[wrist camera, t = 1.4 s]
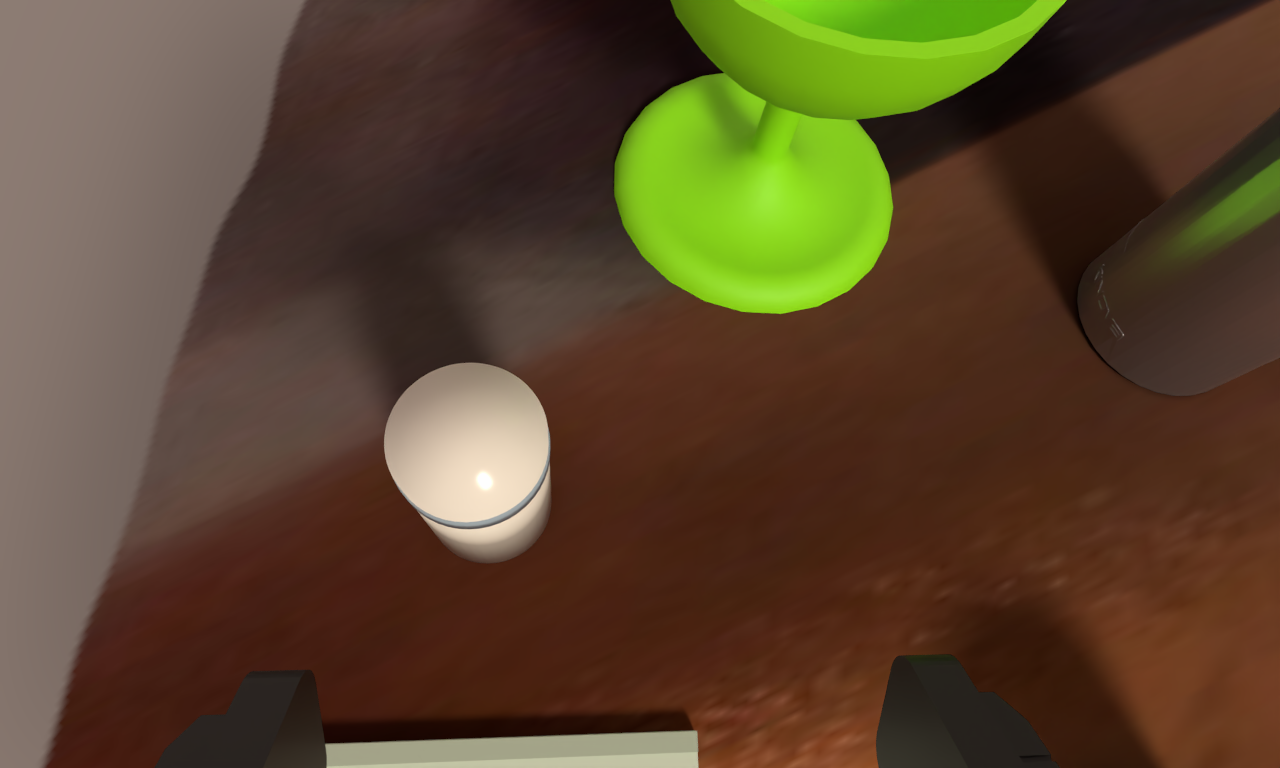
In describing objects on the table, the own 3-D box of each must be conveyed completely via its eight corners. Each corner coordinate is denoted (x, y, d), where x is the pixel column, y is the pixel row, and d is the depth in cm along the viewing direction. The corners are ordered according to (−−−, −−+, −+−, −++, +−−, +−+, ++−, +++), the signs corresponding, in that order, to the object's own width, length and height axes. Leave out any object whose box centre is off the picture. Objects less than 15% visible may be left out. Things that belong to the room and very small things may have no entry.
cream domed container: (553, 443, 38) (550, 362, 29) (551, 563, 36) (548, 517, 27) (432, 443, 37) (390, 360, 28) (423, 565, 35) (374, 518, 26)
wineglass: (892, 99, 48) (1068, -220, 31) (892, 334, 42) (1111, 95, 25) (632, 56, 47) (670, -293, 31) (594, 289, 41) (616, 13, 25)
